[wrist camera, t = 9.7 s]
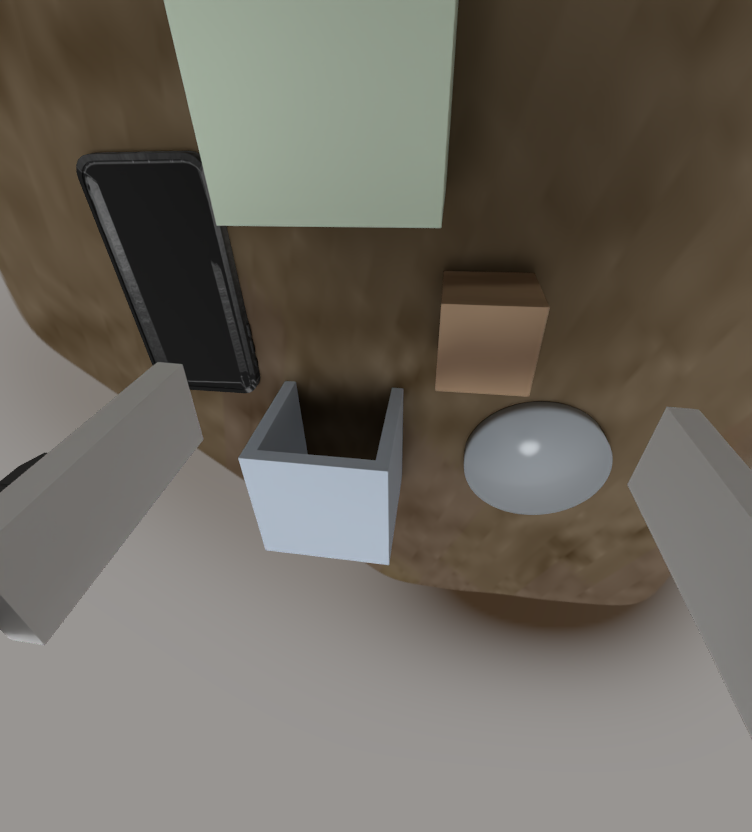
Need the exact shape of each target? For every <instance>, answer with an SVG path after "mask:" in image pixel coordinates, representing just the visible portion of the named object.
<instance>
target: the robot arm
mask: <svg viewBox="0 0 752 832" xmlns="http://www.w3.org/2000/svg"><path fill="white" fill-rule="evenodd" d="M202 441H203V436H202V432H201V429H200V425H199V422H198V418H197V414H196V411H195V407H194V404H193V400H192V397H191V393H190V389H189V386H188V382H187V379H186V375H185V372H184V368H183V364H174V363H163V362H157V363H156V364H155V365H153V366H152V367H151V368H150V369H149V370H147V371H146V372H145V373H144V374H143V375H141V376H140V377H139V378H138V379H136V380H135V381H134V382H133V383H132V384H130V385H129V386H128V387H127V388H126V389H124V390H123V391H122V392H121V393H120V394H118V395H117V396H116V397H115V398H114V399H112V400H111V401H110V402H109V403H108V404H106V405H105V406H104V407H103V408H102V409H100V410H99V411H98V412H97V413H96V414H94V415H93V416H92V417H91V418H89V419H88V420H87V421H86V422H85V423H84V424H82V425H81V426H80V427H79V428H77V429H76V430H75V431H74V432H73V433H72V434H70V435H69V436H68V437H67V438H65V439H64V440H63V441H62V442H61V443H59V444H58V445H57V446H56V447H55V448H53V449H52V450H51V451H50V452H48V453H43V454H41V455H39V456H37V457H36V458H34V459H32V460H30V461H28V462H26V463H24V464H22V465H20V466H19V467H17V468H16V469H15V470H14V471H12V472H11V473H10V474H9V475H7V476H6V477H5V478H4V479H3V480H1V481H0V630H1V631H2V632H3V633H4V634H5V635H6V636H7V637H8V638H9V639H10V640H16V641H22V642H28V643H34V644H40V645H45V644H46V643H47V642H48V640H49V639H50V638H51V637H52V635H53V634H54V633H55V631H56V630H57V629H58V628H59V626H60V625H61V623H62V622H63V621H64V620H65V618H66V617H67V616H68V615H69V613H70V612H71V611H72V609H73V608H74V607H75V605H76V604H77V603H78V601H79V600H80V599H81V598H82V596H83V595H84V594H85V592H86V591H87V590H88V588H89V587H90V586H91V584H92V583H93V582H94V581H95V579H96V578H97V577H98V576H99V574H100V573H101V572H102V570H103V569H104V568H105V566H106V565H107V564H108V563H109V561H110V560H111V559H112V557H113V556H114V555H115V553H116V552H117V551H118V550H119V548H120V547H121V546H122V544H123V543H124V542H125V540H126V539H127V538H128V537H129V535H130V534H131V533H132V531H133V530H134V529H135V528H136V526H137V525H138V524H139V522H140V521H141V520H142V518H143V517H144V516H145V515H146V513H147V512H148V511H149V509H150V508H151V507H152V505H153V504H154V503H155V502H156V500H157V499H158V498H159V496H160V495H161V494H162V492H163V491H164V490H165V489H166V487H167V486H168V484H169V483H170V482H171V481H172V479H173V478H174V477H175V476H176V474H177V473H178V472H179V470H180V469H181V467H182V466H183V465H184V464H185V463H186V461H187V460H188V459H189V457H190V456H191V455H192V454H193V452H194V451H195V450H196V448H197V447H198V446H199V444H200V443H201V442H202ZM628 487H629V489H630V491H631V493H632V495H633V497H634V499H635V501H636V503H637V505H638V507H639V509H640V511H641V513H642V516H643V518H644V520H645V522H646V524H647V526H648V528H649V530H650V532H651V534H652V536H653V538H654V540H655V542H656V544H657V546H658V548H659V550H660V552H661V554H662V556H663V558H664V561H665V563H666V565H667V567H668V569H669V571H670V573H671V575H672V577H673V579H674V581H675V583H676V585H677V587H678V589H679V591H680V593H681V595H682V597H683V599H684V601H685V603H686V605H687V607H688V610H689V612H690V613H691V616H692V618H693V620H694V622H695V624H696V626H697V628H698V630H699V632H700V634H701V636H702V638H703V640H704V642H705V644H706V646H707V648H708V651H709V653H710V655H711V657H712V659H713V661H714V663H715V665H716V667H717V669H718V671H719V673H720V675H721V677H722V679H723V681H724V683H725V685H726V687H727V689H728V691H729V693H730V695H731V698H732V700H733V702H734V704H735V706H736V708H737V710H738V712H739V714H740V716H741V718H742V720H743V722H744V724H745V726H746V728H747V730H748V732H749V734H750V736H751V738H752V471H751V470H750V468H749V467H748V466H747V465H746V464H745V463H744V461H743V460H742V459H741V458H740V457H739V456H738V454H737V453H736V452H735V451H734V450H733V449H732V447H731V446H730V445H729V444H728V443H727V442H726V441H725V439H724V438H723V437H722V436H721V435H720V434H719V432H718V431H717V430H716V429H715V428H714V427H713V425H712V424H711V423H710V422H709V421H708V420H707V419H706V417H705V416H704V415H703V414H702V413H701V412H700V410H698V409H686V408H675V407H666V409H665V411H664V413H663V415H662V417H661V419H660V421H659V423H658V425H657V427H656V429H655V431H654V433H653V435H652V437H651V439H650V441H649V443H648V445H647V447H646V449H645V451H644V453H643V455H642V457H641V459H640V461H639V463H638V465H637V467H636V469H635V471H634V473H633V475H632V477H631V479H630V481H629V483H628Z"/></svg>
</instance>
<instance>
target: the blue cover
mask: <svg viewBox="0 0 752 832" xmlns="http://www.w3.org/2000/svg"><path fill="white" fill-rule="evenodd" d="M402 441H403V388H392V390H391V394H390V399H389V403H388V408H387V412H386V417H385V421H384V426H383V430H382V434H381V439H380V443H379V448H378V452H377V457H376V460H366V459H354V458H343V457H331V456H320V455H308V453H307V447H306V441H305V435H304V428H303V422H302V416H301V410H300V404H299V398H298V392H297V386H296V382H293V381H285V382H284V384H283V385H282V387H281V389H280V390H279V392H278V394H277V395H276V397H275V399H274V400H273V402H272V404H271V405H270V407H269V408H268V410H267V412H266V413H265V415H264V417H263V418H262V420H261V422H260V423H259V425H258V427H257V428H256V430H255V431H254V433H253V435H252V436H251V438H250V440H249V441H248V443H247V445H246V446H245V448H244V450H243V451H242V453H241V454H240V456H239V458H238V459H239V462H240V466H241V469H242V472H243V476H244V479H245V482H246V486H247V489H248V492H249V496H250V499H251V502H252V505H253V509H254V512H255V516H256V519H257V523H258V526H259V529H260V532H261V536H262V539H263V543H264V546H265V549H266V550H270V551H278V552H286V553H294V554H302V555H311V556H319V557H327V558H336V559H344V560H353V561H360V562H369V563H377V564H385V565H389V561H390V554H391V548H392V541H393V534H394V527H395V520H396V513H397V506H398V500H399V493H400V486H401V479H402Z"/></svg>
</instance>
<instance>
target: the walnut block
mask: <svg viewBox="0 0 752 832" xmlns="http://www.w3.org/2000/svg"><path fill="white" fill-rule="evenodd" d="M549 309H550V307H549V305H548V303H547V300H546V298H545V296H544V294H543V291H542V289H541V287H540V285H539V282H538V280H537V278H536V276H535V273H513V272H471V271H444V274H443V287H442V301H441V315H440V329H439V343H438V357H437V371H436V385H435V391H447V392H463V393H479V394H495V395H511V396H527V397H529V394H530V390H531V386H532V382H533V377H534V373H535V369H536V365H537V360H538V356H539V352H540V347H541V343H542V339H543V335H544V330H545V326H546V322H547V317H548V313H549Z"/></svg>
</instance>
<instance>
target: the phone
mask: <svg viewBox="0 0 752 832" xmlns="http://www.w3.org/2000/svg"><path fill="white" fill-rule="evenodd" d="M76 169H77V175H78V179H79V181H80V184H81V186H82V189H83V192H84V194H85V197H86V199H87V202H88V204H89V207H90V209H91V212H92V214H93V217H94V219H95V222H96V224H97V227H98V229H99V232H100V234H101V237H102V239H103V242H104V244H105V247H106V249H107V252H108V254H109V257H110V259H111V262H112V264H113V267H114V269H115V272H116V274H117V277H118V279H119V282H120V284H121V287H122V289H123V292H124V294H125V297H126V299H127V302H128V304H129V307H130V309H131V312H132V314H133V317H134V319H135V322H136V324H137V327H138V330H139V332H140V335H141V337H142V340H143V342H144V345H145V347H146V350H147V352H148V355H149V357H150V360H151V362H152V365H155V364H156V363H157V362H163V363H174V364H183V368H184V372H185V375H186V379H187V382H188V386H189V389H190V390H204V391H220V392H235V393H249V392H252V391H253V390H254V389H255V388H256V386H257V385H258V383H259V381H260V373H259V368H258V364H257V359H256V355H255V350H254V345H253V341H252V337H251V331H250V326H249V324H248V320H247V315H246V311H245V306H244V302H243V297H242V293H241V289H240V284H239V280H238V275H237V271H236V266H235V262H234V258H233V253H232V249H231V244H230V240H229V236H228V231H227V227H226V226H217V225H216V221H215V216H214V212H213V208H212V204H211V199H210V195H209V191H208V187H207V182H206V178H205V174H204V170H203V165H202V161H201V157H200V154H198V153H196V152H193V151H177V152H175V151H156V152H109V153H93V154H87V155H83V156H81V157H80V158H79V159H78V162H77V165H76Z"/></svg>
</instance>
